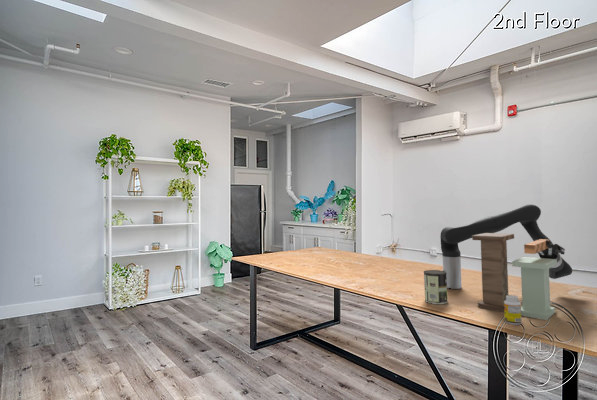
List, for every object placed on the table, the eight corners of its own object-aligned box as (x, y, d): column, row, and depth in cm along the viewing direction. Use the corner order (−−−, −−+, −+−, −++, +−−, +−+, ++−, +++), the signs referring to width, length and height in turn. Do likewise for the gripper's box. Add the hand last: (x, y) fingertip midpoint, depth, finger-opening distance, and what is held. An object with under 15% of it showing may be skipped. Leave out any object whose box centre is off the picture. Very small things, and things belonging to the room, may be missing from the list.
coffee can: (444, 298, 170) (443, 269, 171) (450, 304, 160) (449, 274, 160) (422, 298, 172) (421, 269, 172) (426, 304, 162) (425, 273, 162)
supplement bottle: (506, 319, 138) (505, 293, 138) (522, 322, 135) (521, 295, 135) (503, 323, 134) (502, 296, 134) (520, 326, 130) (519, 298, 131)
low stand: (549, 321, 135) (546, 264, 135) (514, 314, 144) (512, 261, 144) (558, 312, 146) (556, 259, 146) (525, 306, 154) (523, 256, 155)
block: (534, 253, 139) (534, 245, 139) (524, 253, 142) (524, 244, 142) (549, 247, 155) (549, 239, 155) (540, 246, 158) (539, 239, 158)
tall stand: (504, 313, 146) (501, 236, 147) (474, 307, 155) (472, 235, 156) (516, 305, 157) (514, 233, 158) (488, 300, 166) (485, 232, 166)
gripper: (533, 248, 169) (523, 233, 159) (569, 250, 159) (561, 234, 149) (532, 263, 167) (521, 248, 157) (568, 266, 156) (560, 250, 146)
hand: (541, 241), depth 153 cm, fingers closed on block, 3 cm apart
